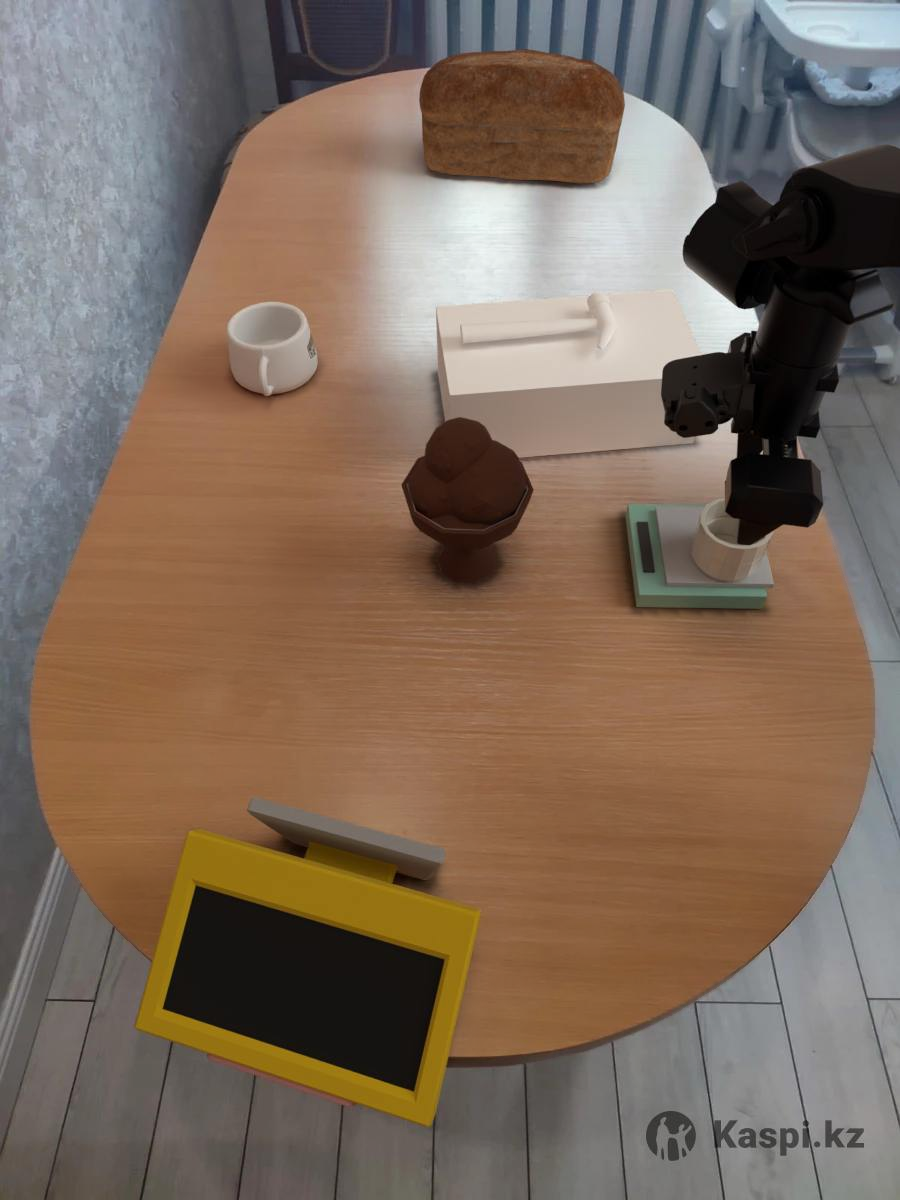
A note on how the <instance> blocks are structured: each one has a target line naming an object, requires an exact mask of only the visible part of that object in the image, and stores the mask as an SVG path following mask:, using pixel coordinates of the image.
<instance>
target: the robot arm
mask: <svg viewBox="0 0 900 1200" xmlns="http://www.w3.org/2000/svg"><path fill="white" fill-rule="evenodd" d="M778 199H779V200H778V201H776V202H775V203H774V204H772V203H770V202H769V201H768V200H766V199H764V198H763V197H762V196H760V195H759V194H758V192H756V190H755V189H754V188H753V187H751V186H750V185H749V184H747V183H746V182H744V181H743V180H740V181H737V182H733V183H730V184H727V185H724V186H720V187H718V189H717V192H716V197H715V201H714V203H712V204H711V205H710V206H709V207H707V209H705V210H704V211H703V212H702V214H701V215H700V216H699V217H698V218H697V219H696V221H695V223H694V224H693V226H692V227H691V229H690V231H689V233H688V234H687V235H686V236H685V237H684V240H683V246H682V259H683V263H684V264H685V266H686V267H687V268H688V269H689V270H690V271H692V273H694V274H695V275H697V276H698V277H699V278H700V279H701V280H703V281H704V282H705V283H706V284H708V285H709V286H710V287H712V288H713V289H714V290H715V291H716V292H718V293H719V294H720V295H722V297H724V298H725V299H727V301H729V302H730V303H731V304H732V305H734V306H735V307H737V308H738V309H741V310H750V309H754V308H757V307H759V306H762V305H764V307H763V311H762V314H761V317H760V321H759V324H758V328H757V330H751V331H750V332H743V333H742V334H740V335H738V336H736V337H735V338H733V339H731V340H730V341H729V345H728V348H727V349H728V350H727V352H723V351H715V352H710V353H704V354H702V355H698V356H693V357H687V358H682V359H677V360H673V361H671V362H669V363H667V364H666V365H665V366H664V368H663V372H662V386H661V398H662V402H663V406H664V410H665V417H664V424H665V425H666V426H667V427H669V429H670V430H671V431H673V432H676V433H677V435H679V436H681V437H683V438H689V437H695V438H696V437H701V436H708V435H713V434H714V433H715V432H717V431H718V429H719V425H722V424H727V423H728V422H729V421H731V423H730V433H731V434H736V435H737V443H736V457H735V458H733V459H731V460H730V462H729V465H728V468H727V472H726V477H725V480H724V497H725V512H726V513H727V514H728V515H730V516H731V517H732V518H734V519H739V520H738V533H737V543H738V544H741V545H752V544H754V543H755V542H757V541H758V540H760V539H761V538H763V537H765V536H766V535H768V534H769V533H771V532H772V531H773V532H774V531H775V530H777V529H779V528H781V527H782V526H792V527H800V528H809V527H811V526H812V525H814V524H815V523H816V522H817V520H818V518H819V515H820V513H821V511H822V508H823V507H824V496H823V486H822V485H823V484H822V475H821V473H822V471H821V469H819V467H818V466H817V465H816V464H815V463H814V461H813V460H812V459H807V458H799V448H798V437H801V438H811V439H817V437H818V434H819V431H820V430H821V421H820V411H819V409H820V407H821V405H822V403H823V399H824V397H825V394H826V393H832V394H835V392H836V389H837V387H838V384H839V382H840V377H839V369H838V360H839V358H840V356H841V353H842V351H843V349H844V346H845V343H846V340H847V338H848V336H849V333H850V330H851V328H852V326H853V325H855V324H857V323H860V322H863V321H865V320H867V319H871V318H873V317H876V316H879V315H881V314H884V313H886V312H889V311H891V310H892V309H893V308H894V305H895V304H894V300H893V298H892V295H891V293H890V291H889V289H888V288H887V287H886V286H885V285H884V283H883V282H882V278H881V274H880V271H879V270H878V269H882V268H900V148H899V147H897V146H894V145H891V144H879V145H878V144H877V145H872V146H870V147H867V148H863V149H860V150H857V151H853V152H850V153H846V154H843V155H840V156H837V157H833V158H830V159H828V160H824V161H821V162H818V163H814V164H811V165H807V166H805V167H801V168H799V169H796V170H794V171H793V172H792V173H791V176H790V177H789V178H788V179H787V180H786V182H785V184H784V186H783V188H782V190H781V193H780V195H779V198H778ZM862 270H867V271H865V272H864V271H862Z"/></svg>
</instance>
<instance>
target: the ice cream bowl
mask: <svg viewBox="0 0 900 1200" xmlns="http://www.w3.org/2000/svg"><path fill="white" fill-rule="evenodd" d="M400 485H401V488H402V491H403V495H404V498H405V502H406V505H407V507H408V511H409V514H410V518H411V520H412V522H413V524H414V526H415V527H416V529H417V530H418V531H419V532H420V533H422V534H423V535H425V536H427V537H429V538H430V539H432V540H433V541H434V542H437V543H438V544H439V545H442V546H443V547H442V549H441V551H440V553H439V555H438V556H437V562H438V567H439V569H440V572H441V574H443V575H444V576H446V577H447V578H449V579H450V580H452V581H453V582H455V583H464V584H465V583H466V584H467V583H468V584H476V583H479V582H481V581H482V580H485V579H486V578H488V577H490V576H492V574H493V572H494V570H495V568H496V566H497V564H498V559H497V556H496V554H495V553H496V552H495V551H494V548H493V545H494V544H495V543H497V542H499V541H502V540H504V539H506V538H507V537H510V536H511V535H512V534H513V533H514V532H515V531H516V529H518V526H519V524H520V522H521V520H522V518H523V516H524V514H525V512H526V510H527V508H528V506H529V504H530V501H531V499H532V496H533V494H534V487H533V485H532V483H531V480H530V478H529V476H528V473H527V471H526V469H525V466H524V464H523V462H522V461H521V460H520V458H518V456H517V455H516V453H515V452H514V451H513V450H512V449H510V448H508V447H507V446H505V445H503V444H501V443H499V442H498V441H495V440H492V438H491V436H490V434H489V432H488V431H487V429H486V427H485V426H484V425H482V424H481V423H480V422H478V421H475V420H471V419H467V418H462V417H458V418H454V419H450V420H447V421H445V420H444V422H442V423H441V424H439V425H438V426H436V428H435V429H434V431H433V432H432V434H431V436H430V437H429V439H428V440H427V442H426V444H425V450H424V455H423V456H420V457H417V459H416V460H415V461H414V463H413V465H412V466H411V468H410V470H409V471H408V472H407V475H406V476H405V477H404V479H403V481H402V483H401V484H400Z"/></svg>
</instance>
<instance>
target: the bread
mask: <svg viewBox="0 0 900 1200" xmlns="http://www.w3.org/2000/svg"><path fill="white" fill-rule="evenodd" d="M418 97H419V98H418V103H419V109H420V112H421V131H422V132H421V133H422V149H423V159H424V163H425V165H426V167H428V169H430V170H431V171H433V172H436V173H440V174H445V175H452V176H475V177H476V176H477V177H489V178H490V177H492V178H499V179H500V178H501V179H507V180H516V181H517V180H529V181H530V180H536V181H553V182H564V183H571V184H591V183H592V184H593V183H599V182H603V181H604V180H605V179H606V178H607V177H608V176H609V175H610V173H611V171H612V167H613V163H614V159H615V154H616V151H617V149H618V148H617V147H618V141H619V136H620V130H621V127H622V122H623V118H624V113H625V107H626V102H625V92H624V91H623V87H622V85H621V83H620V81H619V79H618V77H617V76H615V74H614V73H612V72H611V71H609V70H608V69H607V68H605V67H603V66H602V65H600V64H598V63H596V62H595V61H592V60H591V59H585V58H584V59H582V58H576V57H573V56H570V55H566V54H560V53H553V52H545V51H540V50H536V49H528V48H527V49H526V48H525V49H512V50H490V51H473V52H462V53H457V54H452V55H450V56H447V57H445V58H442V59H440V60H439V61H437V62H436V63H435V64H433V66H431V67H430V69H428V70H427V71H426V73H425V74H424V76H423V78H422V82H421V85H420V87H419V96H418Z"/></svg>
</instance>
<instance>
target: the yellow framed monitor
mask: <svg viewBox="0 0 900 1200" xmlns="http://www.w3.org/2000/svg"><path fill="white" fill-rule="evenodd" d="M246 811H247V812H248V813H249V815H250V816H252V817H253V818H255V819H256V820H258V821H259V822H261V823H262V824H264V825H265V826H267V827H268V828H270V829H271V830H273V831H275V832H276V833H277V834H279V835H280V836H282V837H283V838H285V839H286V840H287V841H289V842H291V843H292V844H295V845H298V846H301V847H304V848H307V850H306V851H305V852H306V853H305V854H304V858H303V857H299V856H296V855H292V854H289V853H285V852H282V851H278V850H275V849H271V848H268V847H264V846H260V845H258V844H254V843H250V842H247V841H243V840H240V839H237V838H232V837H229V836H226V835H222V834H218V833H215V832H211V831H208V830H205V829H202V828H196V829H192V830H189V831H188V832H186V834H185V839H184V841H183V842H184V843H183V846H182V849H181V852H180V857H179V860H178V865H177V868H176V871H175V874H174V875H175V876H174V879H173V882H172V887H171V890H170V894H169V896H168V897H169V898H168V901H167V905H166V909H165V912H164V915H163V919H162V923H161V927H160V930H159V934H158V938H157V940H156V941H157V942H156V944H155V948H154V952H153V956H152V960H151V964H150V966H149V971H148V974H147V977H146V982H145V985H144V988H143V993H142V996H141V1000H140V1003H139V1007H138V1011H137V1014H136V1018H135V1022H134V1028H135V1030H136V1031H139V1032H142V1033H145V1034H148V1035H151V1036H154V1037H156V1038H160V1039H163V1040H166V1041H168V1042H172V1043H174V1044H178V1045H181V1046H184V1047H187V1048H190V1049H192V1050H196V1051H199V1052H202V1053H204V1054H206V1057H207V1059H208V1060H209V1061H211V1062H214V1063H217V1064H220V1065H223V1066H226V1067H229V1068H232V1069H234V1070H238V1071H241V1072H244V1073H247V1074H250V1075H253V1076H256V1077H259V1078H262V1079H264V1080H268V1081H271V1082H274V1083H277V1084H280V1085H283V1086H286V1087H289V1088H292V1089H295V1090H297V1091H301V1092H303V1093H306V1094H309V1095H312V1096H315V1097H318V1098H321V1099H325V1100H327V1101H330V1102H333V1103H336V1104H339V1105H342V1106H345V1107H349V1108H350V1107H355V1106H356V1105H360V1106H363V1107H365V1108H367V1109H368V1108H369V1109H371V1110H374V1111H377V1112H381V1113H383V1114H387V1115H389V1116H392V1117H396V1118H398V1119H401V1120H403V1121H404V1120H405V1121H407V1122H410V1123H413V1124H416V1125H420V1126H422V1127H425V1128H429V1127H431V1126H432V1125H433V1122H434V1119H435V1116H436V1114H437V1107H438V1104H439V1100H440V1096H441V1091H442V1088H443V1087H442V1086H443V1083H444V1079H445V1074H446V1070H447V1066H448V1060H449V1057H450V1052H451V1049H452V1044H453V1038H454V1034H455V1030H456V1025H457V1021H458V1017H459V1012H460V1008H461V1005H462V1004H461V1003H462V999H463V996H464V992H465V986H466V981H467V978H468V973H469V969H470V965H471V961H472V956H473V952H474V947H475V943H476V938H477V934H478V930H479V925H480V922H481V916H482V911H481V909H480V908H478V907H475V906H472V905H469V904H466V903H461V902H458V901H454V900H451V899H447V898H444V897H440V896H436V895H433V894H429V893H426V892H424V891H423V892H422V891H419V890H415V889H412V888H408V887H405V886H401V885H398V884H394V879H395V876H396V873H397V874H401V875H404V876H408V877H410V878H411V877H412V878H414V879H418V880H422V881H428V880H430V879H432V877H433V876H434V875H435V874H436V872H438V870H439V869H440V868H441V867H442V866H443V864H444V861H445V857H446V854H447V853H446V850H445V848H442V847H439V846H435V845H431V844H428V843H424V842H420V841H417V840H414V839H409V838H406V837H402V836H398V835H395V834H391V833H389V832H388V833H387V832H384V831H380V830H377V829H373V828H369V827H365V826H362V825H359V824H354V823H351V822H347V821H343V820H341V819H340V820H339V819H336V818H332V817H329V816H326V815H321V814H318V813H314V812H311V811H307V810H303V809H299V808H296V807H292V806H289V805H285V804H281V803H279V802H278V803H277V802H274V801H270V800H266V799H263V798H260V797H255V796H254V797H252V798H251V799H250V801H249V803H248V805H247V808H246Z"/></svg>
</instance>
